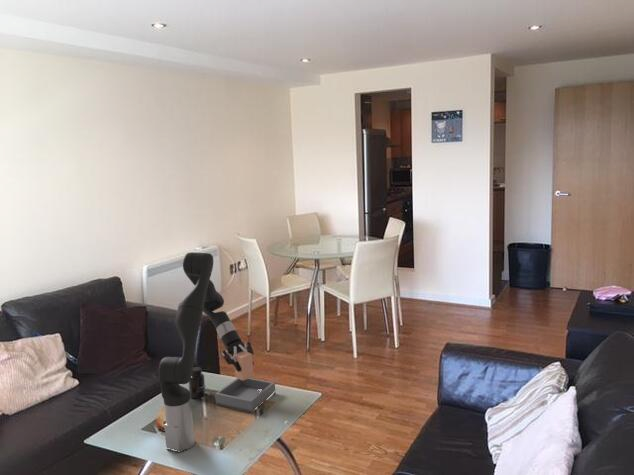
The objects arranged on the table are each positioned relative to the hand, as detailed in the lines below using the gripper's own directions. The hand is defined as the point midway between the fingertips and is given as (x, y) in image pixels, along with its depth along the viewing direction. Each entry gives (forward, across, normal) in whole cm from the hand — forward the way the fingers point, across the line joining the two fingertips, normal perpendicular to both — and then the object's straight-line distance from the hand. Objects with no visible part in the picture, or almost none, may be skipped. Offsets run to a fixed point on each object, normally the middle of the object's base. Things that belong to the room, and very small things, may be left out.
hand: (246, 368), depth 219 cm
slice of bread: (+2, -30, +19) cm, 35 cm away
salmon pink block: (+2, 0, +4) cm, 5 cm away
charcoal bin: (+9, 0, +11) cm, 14 cm away
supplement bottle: (-4, -12, +25) cm, 28 cm away
